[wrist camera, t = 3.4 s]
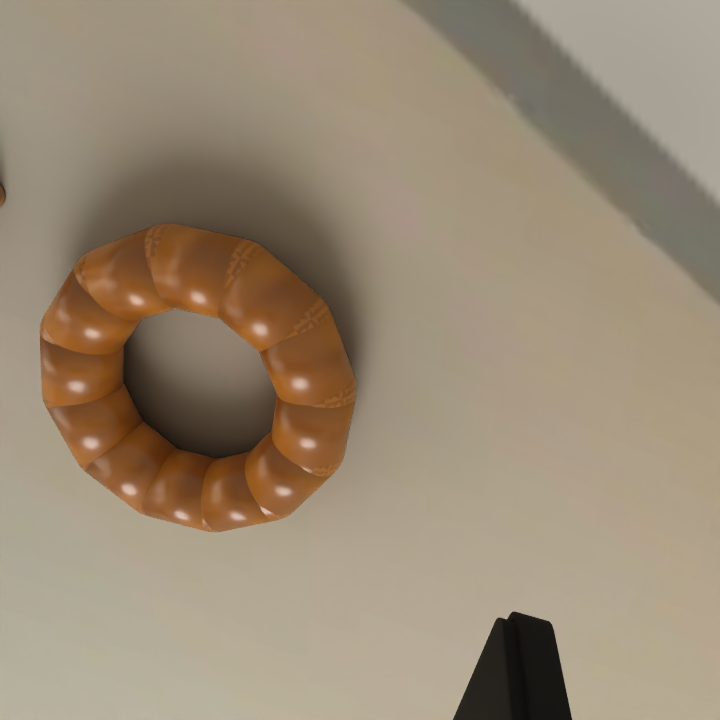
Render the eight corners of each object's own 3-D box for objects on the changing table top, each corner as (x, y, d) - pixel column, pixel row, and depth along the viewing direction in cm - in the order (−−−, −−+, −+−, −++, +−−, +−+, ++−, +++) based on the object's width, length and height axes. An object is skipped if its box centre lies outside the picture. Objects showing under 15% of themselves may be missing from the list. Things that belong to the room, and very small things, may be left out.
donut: (290, 175, 14) (265, 181, 12) (399, 469, 16) (391, 512, 14) (19, 278, 16) (-38, 297, 14) (151, 523, 19) (117, 566, 17)
